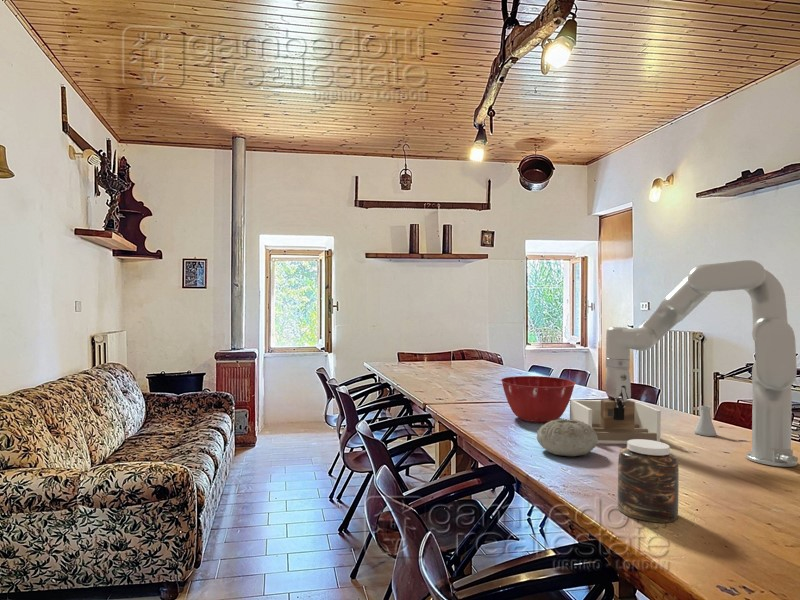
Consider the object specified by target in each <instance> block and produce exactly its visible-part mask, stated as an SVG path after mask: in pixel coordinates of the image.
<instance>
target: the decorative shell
mask: <svg viewBox="0 0 800 600" xmlns="http://www.w3.org/2000/svg"><path fill="white" fill-rule="evenodd" d="M536 440H537V443H538V444H539V445H540V447H541V448H542V449H544V450H546V452H548V453H551V454H552V455H557V456H565V457H579V456H583V455H587V454H588V453H590V452H592V451H593V450H594V449H595V448H596V446H598V444H599V443H598V438H597V435H596V432H595V431H594V430H593V429H592V428H591V427H590V425H587V424H585V423H584V422H581V421H578V420H570V419H564V418H562V419H561V418H558V419H557V420H554V421H550V422H548V423H543V424H541V426H540V427H539V429H537V430H536Z"/></svg>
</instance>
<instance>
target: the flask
mask: <svg viewBox="0 0 800 600" xmlns="http://www.w3.org/2000/svg"><path fill="white" fill-rule="evenodd" d="M700 408H701V411H700V417H699V419H698V422H697V424H696V426H695V428H694V430H693V432H694V434H695V433H696V435H698V436H705V437H706V436H707V437H717V436H718V435H717V432H716V431H717V430H716V429H715V426H714V423H713V421H712V417H711V408H712V407H711V406H710V405H700Z"/></svg>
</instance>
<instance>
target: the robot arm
mask: <svg viewBox="0 0 800 600" xmlns="http://www.w3.org/2000/svg"><path fill="white" fill-rule="evenodd" d="M739 290H744V291H746V293H747V294H748V295H749V296H750V297H749V298H750V301H751V311H752V312H751V313H752V332H751V336H752V340H753V341H754V353H755V355H754V357H755V358H754V359H755V361H754V363H753V365H752V367H751V377H752V378H751V381H752V384H751V385H752V406H751V407H752V413H751V414H752V415H751V416H752V417H751V421H752V423H751V424H752V425H751V451H748V452H746V453H745V458H746V459H747V460H749V461H751V462H755V463H757V464H762V465H766V466H772V467H781V468H782V467H785V468H788V467H796V466H798V461H799V458H798V456H794V454H793V453H794V451H793V449H792V408H793V407H792V404H793V403H792V399H793V398H792V386H793V384H794V383H795V381H796V380H797V347H796V346H797V345H796V336H795V335H796V334H795V331H794V330H793V327H792V326H791V325H790V324H789V323H788V310H787V299H786V294H785V291H784V288H783V285H782V283H781V282H780V281H779V279H778V278H777V277H776V276H775V275H774V274H772V273H771V272H770V271H769V270H767V269H765V268H764V266H763V264H761V263H760V262H759V261H756V260H751V259H744V260H737V261H727V262H726V261H725V262H718V263H707V264H700V265H696V266H695V267H693V268H692V269H691V270H690V271H689V274H688V275H687V276H686V277H685V278H684V279H683V280H681V282H680V283H678V285H677V286H675V288H674V289H673V290H671V291H670V292H669V293H668V294H667V295H666V296H665V297H664V298H663V299H662V301H661V302H660V304H658V305H659V306H658V307H657V308H656V310H655V311H653V313H652V314H651V315H650V316H649V317H648V318H647V319H646V320H645V321H644V322H643V323H642V324H641V325H640V326H639V327H638V328H635V327H634V328H628V327H624V326H623V327H621V326H619V327H618V326H610V327H608V328H607V329H606V335H605V336H606V337H605V339H606V340H605V368H606V371H605V372H606V373H605V386H604V387H605V388H604V389H605V394H606V397H608V398H607V400H615V407H616V408H614V419H615V420H624V408H625V404H626V403H627V400H630V399H631V397H632V390H631V389H632V388H631V387H632V385H631V383H632V382H631V373H630V367H631V365H630V362H631V360H630V359H631V350H635V351H640V352H644V351H649V350H650V349H652V348H653V347H655V345H656V344H657V343H658V342H659V341H660V340H662V338H663V337H664V336H665V335H667V333H669V331H671V330H672V329H673V328H674V327H675V326H677V324H678V323H680V322H682V321H683V320H684V319H685V318H686V317H687V316H688V315H690V313H692V312H693V311H694V310H695V308H697V307H698V306H699V305H700V304H701V303H702V302H703V301H704V300H705V299H706V298H707V297H708V296H709V295H710V294H711V293H713V292H716V293H717V292H727V291H728V292H729V291H739ZM618 400H621V401H619V403H618Z"/></svg>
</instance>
